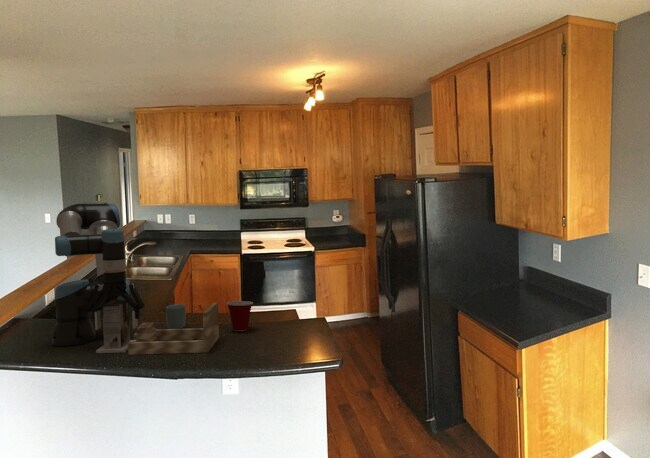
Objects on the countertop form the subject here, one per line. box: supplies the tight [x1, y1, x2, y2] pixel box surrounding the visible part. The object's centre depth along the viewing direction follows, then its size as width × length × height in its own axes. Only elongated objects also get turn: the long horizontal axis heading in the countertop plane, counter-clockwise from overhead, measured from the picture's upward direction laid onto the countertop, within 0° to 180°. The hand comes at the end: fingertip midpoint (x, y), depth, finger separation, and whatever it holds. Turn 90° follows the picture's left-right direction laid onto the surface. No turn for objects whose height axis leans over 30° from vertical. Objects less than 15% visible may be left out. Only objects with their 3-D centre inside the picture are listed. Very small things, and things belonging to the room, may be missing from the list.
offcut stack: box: [133, 321, 158, 342], centre depth 166 cm, size 5×10×8 cm, turn 2°
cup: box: [165, 303, 187, 329], centre depth 190 cm, size 8×8×10 cm
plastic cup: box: [226, 300, 254, 331], centre depth 186 cm, size 11×11×12 cm
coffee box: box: [102, 300, 131, 349], centre depth 166 cm, size 9×6×16 cm
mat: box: [95, 339, 136, 354], centre depth 166 cm, size 10×12×1 cm
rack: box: [127, 302, 220, 356], centre depth 167 cm, size 28×18×14 cm, turn 92°
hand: (116, 328), depth 166 cm, fingers open, 13 cm apart
